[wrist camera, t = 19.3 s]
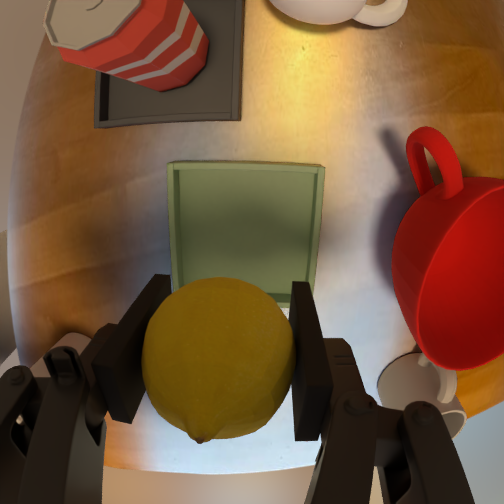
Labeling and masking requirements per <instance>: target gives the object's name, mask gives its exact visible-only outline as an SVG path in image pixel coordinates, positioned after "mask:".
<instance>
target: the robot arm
mask: <svg viewBox="0 0 504 504" xmlns="http://www.w3.org/2000/svg"><path fill="white" fill-rule="evenodd" d="M171 294H172V289H171V278H170V275H165V274H154V276H153V277H152V278H151V280H150V281H149V282H148V284H147V285H146V286H145V288H144V289H143V290H142V292H141V293H140V294H139V296H138V297H137V298H136V300H135V301H134V303H133V304H132V305H131V307H130V308H129V309H128V311H127V312H126V314H125V315H124V316H123V318H122V319H121V320H120V322H119V323H118V324H111V323H108V324H107V325H105V326H103V327H102V328H100V329H99V330H98V331H97V333H96V334H95V335H94V337H93V339H91V341H90V342H89V345H87V346H86V347H85V349H84V350H83V351H82V353H81V354H80V355H79V354H78V352H77V350H76V349H74V348H73V347H70V346H58V347H55V348H53V349H51V350H49V351H48V352H46V353H45V355H44V356H43V360H44V362H45V365H46V367H47V369H48V372H49V374H50V376H51V377H34V376H33V374H32V372H31V370H30V368H28V367H26V366H21V365H19V366H14V367H12V368H10V369H8V370H7V371H6V372H5V373H4V374H3V375H2V377H1V378H0V504H102V480H103V479H102V478H103V463H104V450H105V439H106V429H107V427H106V422H105V419H104V417H105V415H106V413H107V411H109V413H110V416H111V418H112V420H115V421H120V422H124V423H128V424H132V421H133V419H134V416H135V414H136V412H137V409H138V407H139V405H140V402H141V400H142V397H143V395H144V393H145V390H146V388H145V384H144V380H143V375H142V366H141V357H142V348H143V343H144V338H145V333H146V330H147V327H148V324H149V320H150V319H151V317H152V316H153V315H154V313H155V312H156V310H157V309H158V308H159V306H160V305H161V304H162V302H163V301H164V300H165V299H166V298H167V297H168V296H169V295H171ZM288 321H289V323H290V326H291V328H292V331H293V336H294V340H295V345H296V365H295V370H294V375H293V379H292V382H291V386H292V401H293V417H294V433H295V441H318V438H319V435H320V433H321V441H322V443H321V446H320V449H319V452H318V455H317V457H316V460H315V461H316V464H315V468H314V472H313V476H312V479H311V482H310V486H309V489H308V493H307V496H306V500H305V502H304V504H369V501H370V494H371V487H372V479H373V470H374V466H377V469H378V474H379V480H380V485H381V491H382V497H383V503H384V504H475V502H474V499H473V496H472V493H471V490H470V487H469V484H468V481H467V478H466V475H465V472H464V470H463V467H462V464H461V461H460V459H459V456H458V454H457V451H456V448H455V446H454V443H453V441H452V438H451V436H450V433H449V431H448V428H447V426H446V424H445V421H444V419H443V417H442V414H441V412H440V411H439V409H438V408H437V407H436V406H434V405H433V404H431V403H429V402H426V401H414V402H411V403H409V404H408V405H407V406H406V407H405V409H404V410H397V409H390V408H385V407H382V406H379V405H377V402H376V401H375V400H374V398H373V397H372V396H370V395H368V394H367V393H366V391H365V388H364V385H363V382H362V379H361V376H360V373H359V370H358V367H357V365H356V361H355V358H354V355H353V352H352V349H351V346H350V345H349V344H348V343H347V342H346V341H345V340H344V339H343V338H323V335H322V331H321V327H320V323H319V319H318V315H317V311H316V307H315V303H314V299H313V295H312V291H311V287H310V284H309V282H305V281H292V289H291V300H290V310H289V320H288ZM19 416H21V418H22V419H23V420H22V422H21V423H20V424H18V423H17V421H16V420H17V419H18V417H19Z"/></svg>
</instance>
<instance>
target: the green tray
mask: <svg viewBox="0 0 504 504" xmlns="http://www.w3.org/2000/svg"><path fill="white" fill-rule="evenodd" d="M324 177H325V167H323V166H321V165H315V164H300V163H282V162H259V161H173V162H169V163H167V193H168V218H169V237H170V253H171V267H172V279H173V291H174V292H175V291H177V290H178V289H180V288H181V287H183V286H184V285H187V284H189V283H191V282H193V281H195V280H199V279H206V278H213V277H228V278H237V279H240V280H242V281H245V282H248V283H250V284H253V285H255V286H257V287H259V288H260V289H261V290H263V291H264V292H265V293H267V294H268V295H269V296H271V297H272V298H273V299H274V300H275V301H276V303H277V304H278V306H279V307H280V308H290V300H291V289H292V281H305V282H309V284H310V287H311V291H312V295H313V290H314V282H315V274H316V265H317V256H318V247H319V237H320V227H321V216H322V204H323V191H324Z"/></svg>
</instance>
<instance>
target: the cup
mask: <svg viewBox="0 0 504 504" xmlns="http://www.w3.org/2000/svg"><path fill="white" fill-rule="evenodd" d="M456 388H457V376H456V371H455V370H447V369H444V368H442V367H439V366H437V365H435V364H434V363H433V362H431V361H430V360H429V359H428V358H427V357H426V356H425V355H424V353H423V352H422V353H412V354H408V355H405V356H402V357H401V358H399V359H397V360H395V361H394V362H393V363H392V364H390V365H389V366H388V367H387V368H386V369H385V370H384V372H383V373H382V375H381V377H380V379H379V382H378V393H379V397H380V400H381V403H382V405H383V407H385V408H390V409H397V410H404V409H405V407H406V406H407V405H408V404H409V403H411V402H414V401H426V402H429V403H431V404H433V405H434V406H436V407H437V408H438V409H439V411H440V412H441V414H442V417H443V419H444V421H445V424H446V426H447V428H448V431H449V433H450V436H451V438H452V439H453V438H455V437H456V436H457V435H458V433H459V432H460V431H461V430H462V429H463V427H464V425H465V423H466V420H467V416H466V413H465V411H464V409H463V407H462V406H461V404H460V402H459V400H458V399H457V397H456V395H455V392H456Z"/></svg>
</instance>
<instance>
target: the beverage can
mask: <svg viewBox="0 0 504 504" xmlns="http://www.w3.org/2000/svg"><path fill="white" fill-rule="evenodd" d="M43 25H44V28H45V30H46V33H47V35H48V38H49V40H50V42H51V45H53V46H57V47H58V49H59V51H60V53H61V56H62V58H63V60H64V61H66V62H70V63H73V64H77V65H80V66H84V67H87V68H90V69H94V70H97V71H100V72H103V73H106V74H110V75H113V76H116V77H119V78H122V79H124V80H127V81H130V82H133V83H136V84H139V85H142V86H145V87H148V88H151V89H153V90H156V91H159V92H162V91H166V90H169V89H172V88H176V87H180V86H183V85H186V84H187V83H188V82H189V81H190V80H191V79H192V78H193V77H194V76H195V75H196V74H197V73H198V72H199V71H200V70H201V69H202V68H203V67H204V66H205V63H206V56H207V50H208V44H209V40H208V38H207V36H206V35H205V33H204V32H203V30H202V28H201V27H200V25H199V24H198V22H197V21H196V19H195V18H194V16H193V14H192V13H191V11H190V10H189V8H188V7H187V5H186V4H185V2H184V1H183V0H49V3H48V6H47V10H46V13H45V17H44V20H43Z"/></svg>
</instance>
